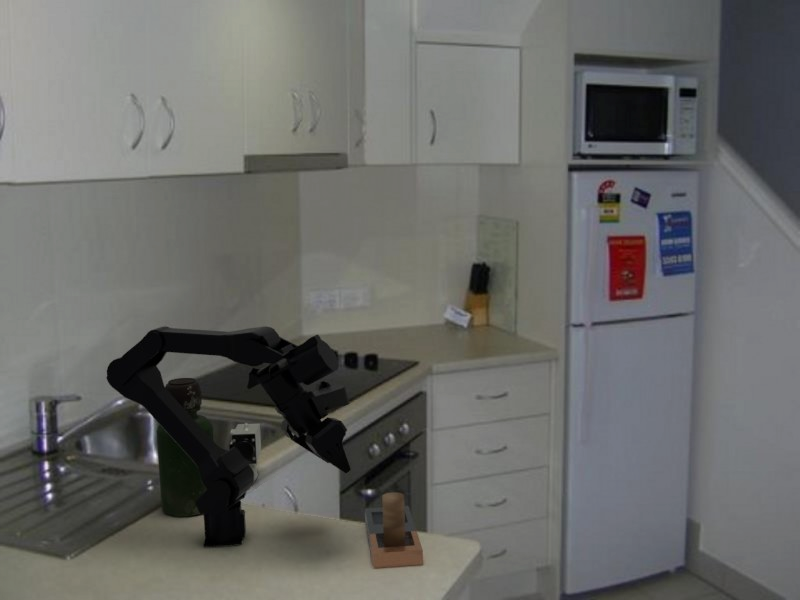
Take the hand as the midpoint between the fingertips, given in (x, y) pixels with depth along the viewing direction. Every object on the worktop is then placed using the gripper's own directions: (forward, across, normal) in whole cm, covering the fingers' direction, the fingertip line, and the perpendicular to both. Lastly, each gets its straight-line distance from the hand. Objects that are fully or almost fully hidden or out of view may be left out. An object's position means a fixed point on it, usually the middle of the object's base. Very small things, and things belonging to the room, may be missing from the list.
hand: (339, 466), depth 158 cm
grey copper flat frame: (+15, -4, +1) cm, 16 cm away
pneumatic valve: (+4, +40, +11) cm, 41 cm away
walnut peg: (+15, -9, +2) cm, 18 cm away
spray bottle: (-2, +28, +24) cm, 37 cm away
